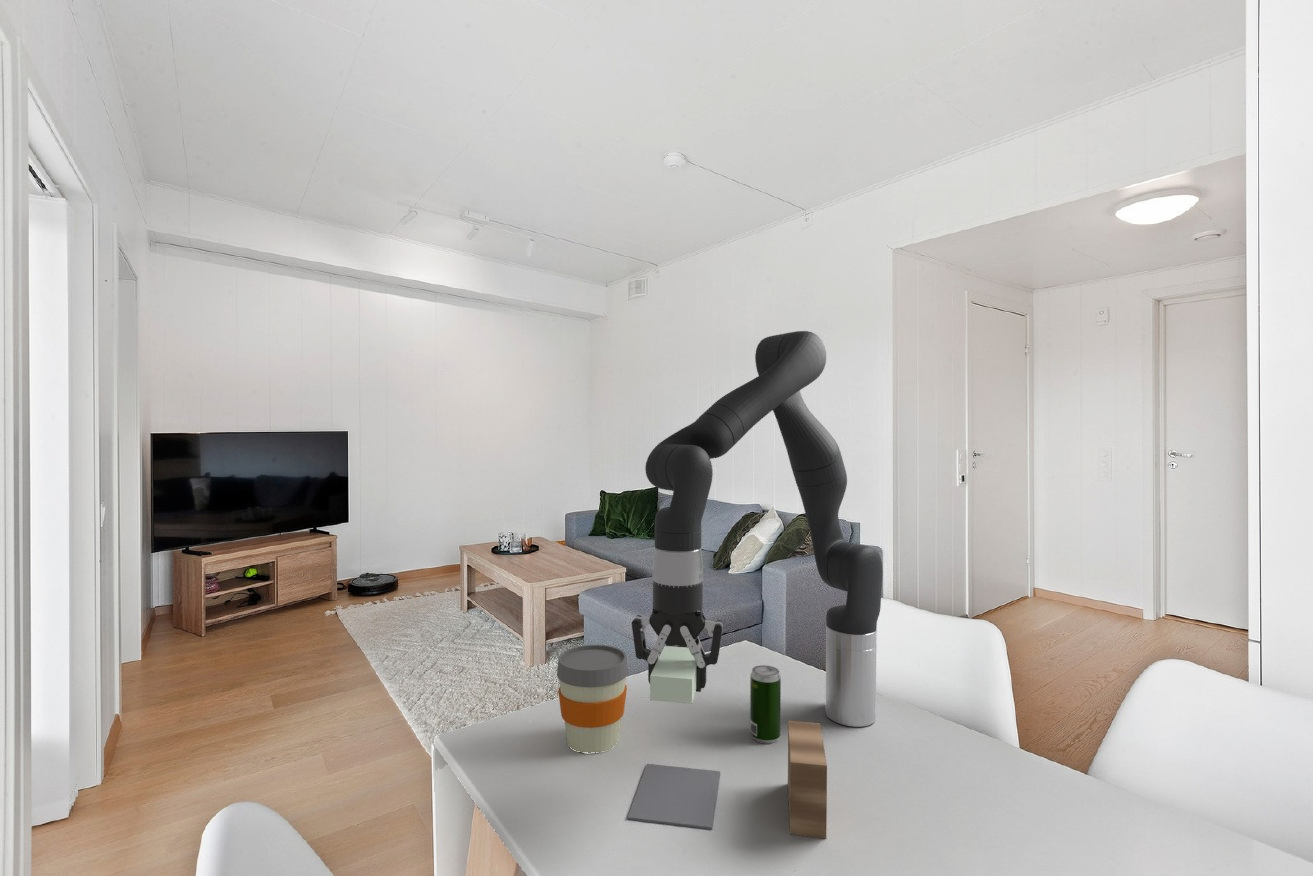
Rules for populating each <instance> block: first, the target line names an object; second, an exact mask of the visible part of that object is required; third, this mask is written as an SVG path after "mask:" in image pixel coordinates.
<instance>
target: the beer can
mask: <svg viewBox="0 0 1313 876" xmlns="http://www.w3.org/2000/svg"><path fill="white" fill-rule="evenodd" d="M780 674H781V673H780V669H779V668H777V667H775V666H771V665H767V664H766V665H765V664H763V665H761V664H760V665H756V666H754V667H753V666H752V668H751V673H750V680H749V681H750V684H749V686H750V687H749V688H750V689H749V690H750V691H749V694H750V696H749V700H750V701H749V704H750V705H749V707H750V708H749V714H750V715H749V720H750V721H749V723H750V724H749V725H750V727H749V733H750V736H751V737H752V740H754V741H755V742H757V743H760V744H765V745H767V744H769V745H770V744H775V743H776V742H778V740H779V739H780V738H781V701H782V700H781V697H782V696H781V694H782V692H781V691H782V687H781V685H782V683H781V682H782V679H781V675H780Z"/></svg>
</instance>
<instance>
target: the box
mask: <svg viewBox="0 0 1313 876" xmlns="http://www.w3.org/2000/svg"><path fill="white" fill-rule="evenodd" d="M821 726H822V725H821V723H819V722H811V721H810V722H809V721H800V720H799V721H798V720H788V721H787V728H788V729H787V730H788V731H787V793H788V794H787V797H788V798H787V799H788V814H789V816H788V817H789V819H788V820H789V834H790V835H794V836H795V835H796V836H804V837H811V838H817V839H819V838H820V839H827V817H828V816H827V813H828V811H827V810H828V809H827V804H828V798H827V797H828V795H827V794H828V788H827V787H828V764H827V759H826V758H827V757H826V752H825V745H824V740H823V733H822V727H821Z"/></svg>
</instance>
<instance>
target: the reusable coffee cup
mask: <svg viewBox="0 0 1313 876" xmlns="http://www.w3.org/2000/svg"><path fill="white" fill-rule="evenodd" d="M627 657H628V656H627V653H626V651H624V650H623V649H621V648H619V647H616V646H612V645H609V644H608V645H607V644H606V645H605V644H587V645H586V644H585V645H579V646H575V647H571V648H569V649H567V650H564V651H563V652H561V653H560V654H559V656H558V660H557V662H558V663H557V669H556V670H557V671H556V677H557V679H558V681H559V687H558V700H559V708H560V714H561V715H560V716H561V719H562V720H563V721H564V727H565V735H566V743H568V744H567V746H568V747H569V746H570V747H571V748H572V749H574V750H576V751H580V752H588V753H591V752H595V753H596V752H602V751H606V750H609V749H611V748H612V747H613V746H615V745H616V746H617V744H618V742H619V737H620V736H619V735H620V727H621V720H622V717H623V716H624V713H625V705H626V699H627V697H626V696H627V690H628V687H627V684H626V679H627V676H628V675H629V665H628V658H627ZM616 743H617V744H616ZM616 746H615V747H616ZM572 749H571V750H572ZM612 749H613V748H612ZM612 749H611V750H612ZM609 751H610V750H609ZM606 752H607V751H606Z"/></svg>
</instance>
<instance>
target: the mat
mask: <svg viewBox="0 0 1313 876" xmlns="http://www.w3.org/2000/svg"><path fill="white" fill-rule="evenodd" d="M720 776H721V771H719V770H713V769H703V768H702V769H701V768H693V767H692V768H691V767H683V766H672V765H664V764H653V763H646V766H645V768H644V771H643V773H642V776H641V779H640V782H639V785H638V787H637V791H636V793H635V797H634V799H633V801H632V805H631V807H630V810H629V812H628V816H627V820H631V821H639V822H646V823H647V822H648V823H654V824H655V823H656V824H663V825H672V826H679V827H680V826H681V827H688V828H694V829H695V828H696V829H704V830H713V827H714V826H713V825H714V819H715V812H716V805H717V797H718V790H719V784H720V778H721V777H720Z"/></svg>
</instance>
